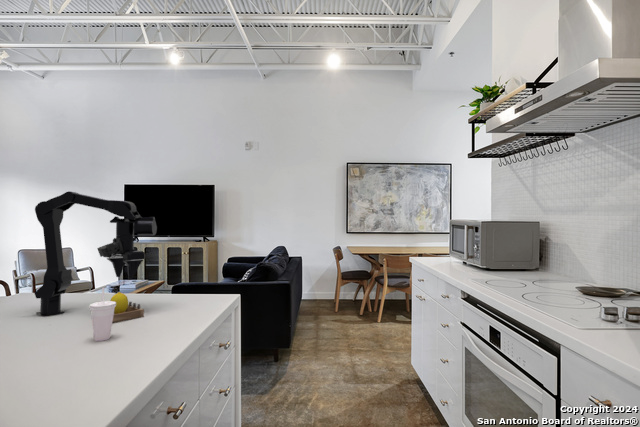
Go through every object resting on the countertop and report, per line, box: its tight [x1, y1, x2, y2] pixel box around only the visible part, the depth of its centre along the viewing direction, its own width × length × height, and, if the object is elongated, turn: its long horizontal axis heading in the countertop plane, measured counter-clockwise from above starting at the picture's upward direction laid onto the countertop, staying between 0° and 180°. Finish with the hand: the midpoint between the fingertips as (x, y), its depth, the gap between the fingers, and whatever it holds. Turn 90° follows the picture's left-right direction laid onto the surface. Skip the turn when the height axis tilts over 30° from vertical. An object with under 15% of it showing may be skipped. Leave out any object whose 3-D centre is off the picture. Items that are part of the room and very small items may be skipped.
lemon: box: [109, 291, 129, 314], centre depth 119 cm, size 6×6×8 cm
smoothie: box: [88, 287, 116, 342], centre depth 98 cm, size 6×6×14 cm
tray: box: [112, 301, 145, 324], centre depth 119 cm, size 11×11×4 cm
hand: (124, 278), depth 128 cm, fingers open, 9 cm apart
